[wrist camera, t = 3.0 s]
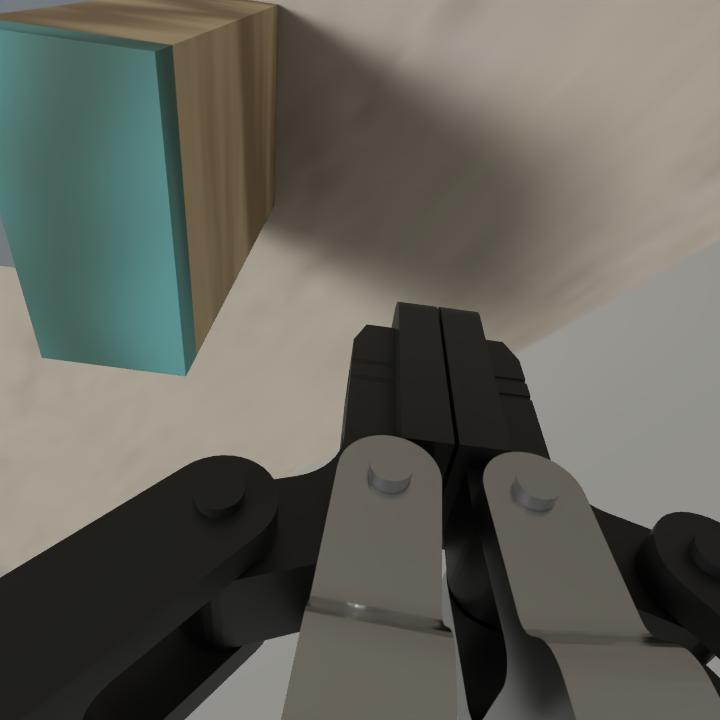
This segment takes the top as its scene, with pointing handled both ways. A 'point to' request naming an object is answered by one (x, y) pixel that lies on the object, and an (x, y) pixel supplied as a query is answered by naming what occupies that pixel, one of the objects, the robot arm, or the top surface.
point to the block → (135, 169)
